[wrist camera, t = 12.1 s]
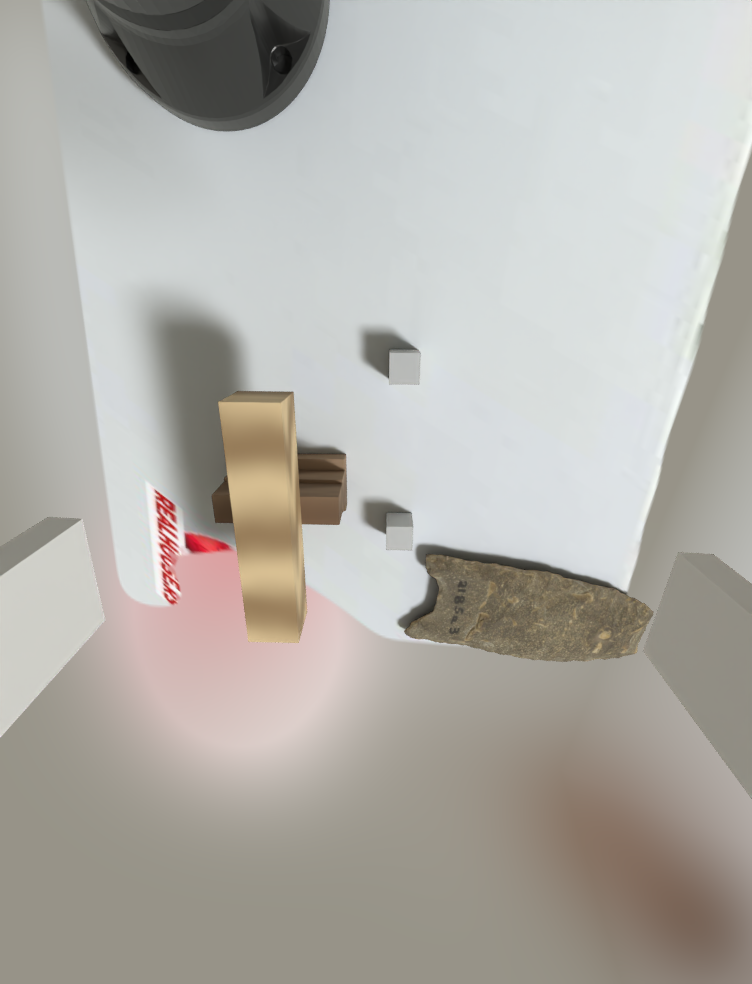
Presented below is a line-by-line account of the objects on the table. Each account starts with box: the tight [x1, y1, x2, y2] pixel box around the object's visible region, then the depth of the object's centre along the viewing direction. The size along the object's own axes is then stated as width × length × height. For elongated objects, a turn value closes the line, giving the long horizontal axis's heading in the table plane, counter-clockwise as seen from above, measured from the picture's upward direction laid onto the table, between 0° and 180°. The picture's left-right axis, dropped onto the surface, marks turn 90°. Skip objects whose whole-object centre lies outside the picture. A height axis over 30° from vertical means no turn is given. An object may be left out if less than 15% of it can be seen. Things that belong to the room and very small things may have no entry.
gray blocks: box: [386, 349, 421, 550], centre depth 39 cm, size 17×2×3 cm, turn 0°
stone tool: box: [404, 554, 653, 662], centre depth 46 cm, size 11×3×25 cm
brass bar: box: [218, 391, 307, 643], centre depth 34 cm, size 19×4×4 cm, turn 0°
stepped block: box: [212, 454, 347, 525], centre depth 39 cm, size 5×10×7 cm, turn 90°
